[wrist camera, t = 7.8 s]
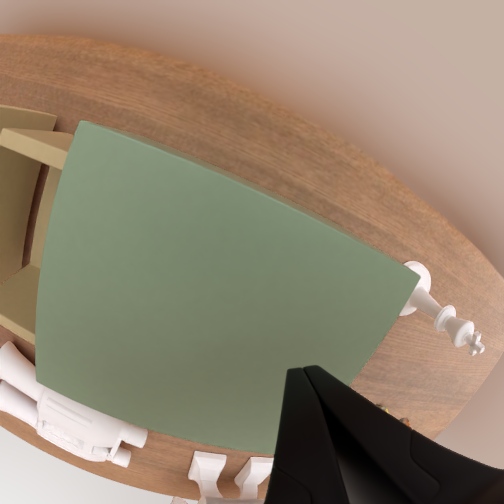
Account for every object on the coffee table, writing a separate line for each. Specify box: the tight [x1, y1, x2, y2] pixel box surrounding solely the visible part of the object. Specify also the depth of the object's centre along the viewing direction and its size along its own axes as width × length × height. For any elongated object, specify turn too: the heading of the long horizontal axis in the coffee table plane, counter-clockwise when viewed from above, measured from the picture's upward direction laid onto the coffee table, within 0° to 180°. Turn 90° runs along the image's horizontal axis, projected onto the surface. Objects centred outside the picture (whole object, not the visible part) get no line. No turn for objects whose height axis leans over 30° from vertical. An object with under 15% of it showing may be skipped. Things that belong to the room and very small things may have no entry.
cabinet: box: [35, 120, 421, 455], centre depth 15 cm, size 15×13×9 cm
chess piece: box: [399, 261, 485, 356], centre depth 18 cm, size 5×5×10 cm
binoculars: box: [0, 341, 148, 468], centre depth 20 cm, size 10×16×5 cm, turn 57°
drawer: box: [0, 105, 74, 345], centre depth 13 cm, size 19×12×7 cm, turn 65°
